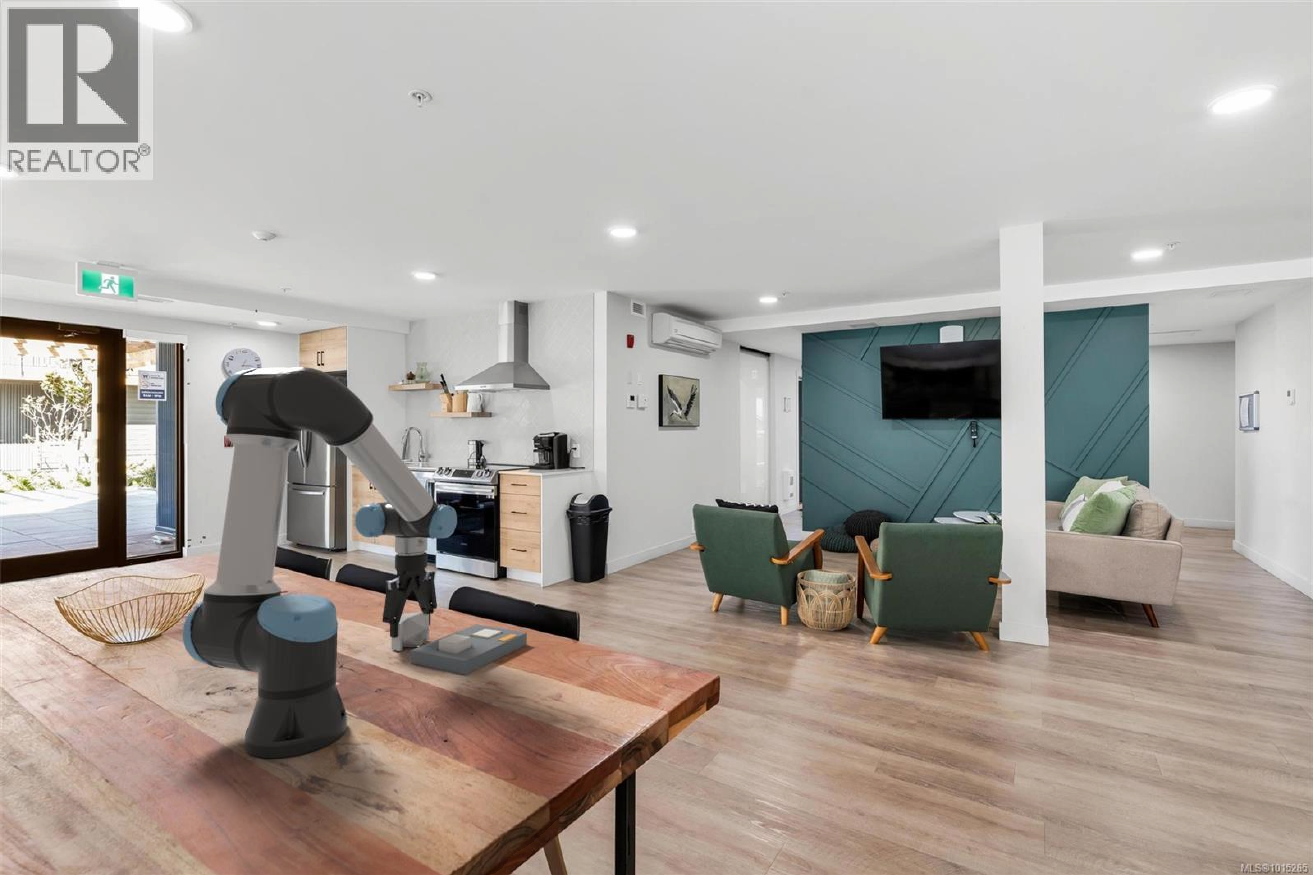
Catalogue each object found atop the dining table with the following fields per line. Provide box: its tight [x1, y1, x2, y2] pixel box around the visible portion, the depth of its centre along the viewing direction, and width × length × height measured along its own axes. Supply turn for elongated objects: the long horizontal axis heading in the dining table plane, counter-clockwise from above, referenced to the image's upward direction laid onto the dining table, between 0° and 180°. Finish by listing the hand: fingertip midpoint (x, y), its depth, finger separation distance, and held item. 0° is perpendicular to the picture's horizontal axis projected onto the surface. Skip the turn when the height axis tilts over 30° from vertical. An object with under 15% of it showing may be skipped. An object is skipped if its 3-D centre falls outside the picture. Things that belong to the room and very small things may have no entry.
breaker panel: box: [410, 623, 528, 676], centre depth 147 cm, size 22×16×3 cm
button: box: [439, 633, 471, 654], centre depth 142 cm, size 5×5×3 cm
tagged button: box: [472, 629, 501, 640], centre depth 152 cm, size 5×5×3 cm
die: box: [399, 612, 430, 648], centre depth 153 cm, size 8×9×10 cm
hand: (410, 644), depth 153 cm, fingers closed on die, 8 cm apart
